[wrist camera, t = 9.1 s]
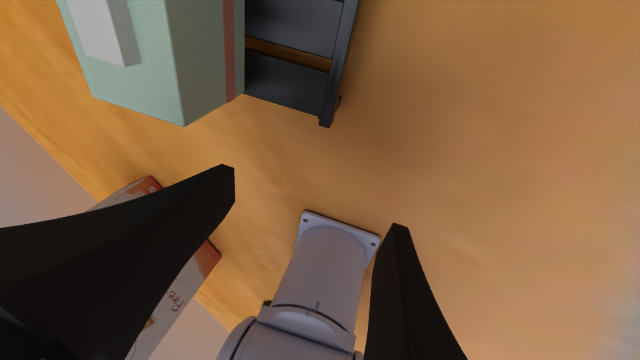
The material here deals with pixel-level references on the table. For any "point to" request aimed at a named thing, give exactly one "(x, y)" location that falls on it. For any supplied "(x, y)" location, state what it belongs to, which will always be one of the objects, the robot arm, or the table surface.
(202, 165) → the table surface
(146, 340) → the cracker box
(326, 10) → the rack
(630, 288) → the table surface
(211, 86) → the tissue box
